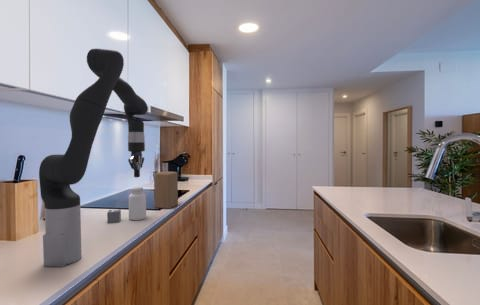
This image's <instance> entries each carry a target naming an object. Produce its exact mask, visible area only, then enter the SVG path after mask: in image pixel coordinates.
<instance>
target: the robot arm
mask: <svg viewBox="0 0 480 305" xmlns="http://www.w3.org/2000/svg"><path fill="white" fill-rule="evenodd" d="M124 61H125V60H124V57H123V54H121V52H120V51H119V50H114V49H106V48H91V49H90V50H88V51H87V55H86V63H87V66H88V68H89V69H90V71H91V72H92V73H93V74H94V75H95V76H96V77H98V79H97V80H95V82H94V83H93V84H91V85H90V86H88V87H87V88H86V89H84V90H83V91H82V92H81V93H79V95H78V96H77V97H76V99H74V100H75V101H74V103H73V105H72V108H71V110H70V113H69V123H70V124H69V125H70V130H71V138H70V142H69V144H68V147H67V149H66V151H65V153H64V154H50V155H47V156H46V157H44V158H43V159H42V161H41V162H40V164H39V165H40V166H39V167H38V168H39V170H38V177H39V178H38V179H39V189H40V197H41V199H42V201H43V203H44V225H45V226H44V231H45V233H44V234H43V235H42V243H43V245H42V249H43V252H42V253H43V267H58V268H61V267H65V266H67V265H70V264H73V263H75V262H77V261H79V260H80V259H81V258H82V226H81V225H82V222H81V218H82V217H81V215H82V214H81V196H80V195H79V194H78V193H76V192H75V191H74V190H73V189H72V188H71V186H70V185H75V184H78V183H79V182H80V181H81V180H82V179H83V177H84V176H85V174H86V172H87V171H86V170H87V168H88V165H89V164H88V163H89V161H90V160H89V159H90V156H91V151H92V147H93V145H94V142H95V140H96V139H95V138H96V135H97V132H98V129H99V126H100V124H101V122H102V119H103V117H104V115H105V112H106V108H107V105H108V103H109V101H110V100H109V99H110V97H111V96H112V93H113V92H114V94H116V95H117V97H118V99H119V100H120V101H121V102H122V104H123V110H124V114H125V117H126V121H127V124H128V126H127V127H128V132H127V133H128V134H127V151H128V152H130V158H128V159H127V160H128V161H127V162H128V164H129V165H130V168H131V169H132V170H133V177H134V178H139V177H141V169H142V168H143V165H144V161H145V157H143V153H142V152H146V144H145V143H146V142H145V138H146V136H145V124H144V121H143V120H141V119H137V118H136V117H135V116H143V115H145V114H147V113H148V109H149V108H148V104H147V102H146V101H145V100H144V99H143V98H142V97H141V96H140V95H138V94H137V93H136V92H135V91H134V89H133V87H132V85H130V83H128V82H127V81H125V80H124V79H123V78H121V76H122V72H123V69H124V64H125V63H124Z"/></svg>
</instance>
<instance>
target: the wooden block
mask: <svg viewBox="0 0 480 305" xmlns="http://www.w3.org/2000/svg"><path fill="white" fill-rule="evenodd" d="M153 176H154V177H153V178H154V179H153V182H154V188H153V191H154V207H155V208H156V209H165V210H166V209H167V210H168V209H171V208H174V207H176V206H178V204H179V196H178V195H179V194H178V192H179V190H178V189H179V187H178V186H179V185H178V183H179V182H178V180H179V179H178V176H179V175H178V172H177V171H159V172H155V173H154V174H153Z"/></svg>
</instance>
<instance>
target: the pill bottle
mask: <svg viewBox="0 0 480 305" xmlns="http://www.w3.org/2000/svg"><path fill="white" fill-rule="evenodd" d="M130 190H131V193H130V194H129V195H128V220H130V221H140V220H145V219H146V218H147V195H146V193H144V187H142V186H137V187H136V186H135V187H134V186H133V187H131V189H130Z"/></svg>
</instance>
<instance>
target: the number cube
mask: <svg viewBox="0 0 480 305" xmlns="http://www.w3.org/2000/svg"><path fill="white" fill-rule="evenodd" d="M106 214H107V215H106V216H107V224H114V223H120V222H121V220H122V210H121V208H120V209H109V210H107V213H106Z"/></svg>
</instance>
